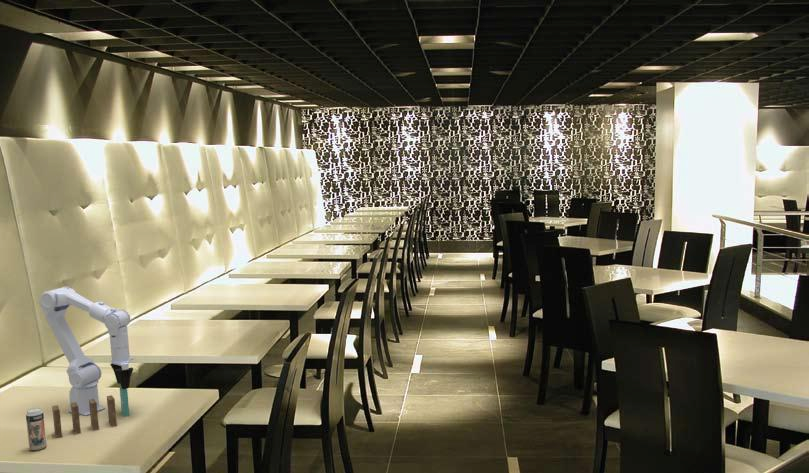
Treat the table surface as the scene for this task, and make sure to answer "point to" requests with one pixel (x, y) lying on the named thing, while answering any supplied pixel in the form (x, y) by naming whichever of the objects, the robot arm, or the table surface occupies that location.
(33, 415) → the beer can
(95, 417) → the domino
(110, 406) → the domino
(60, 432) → the domino
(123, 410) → the domino
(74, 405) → the domino
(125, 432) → the table surface
